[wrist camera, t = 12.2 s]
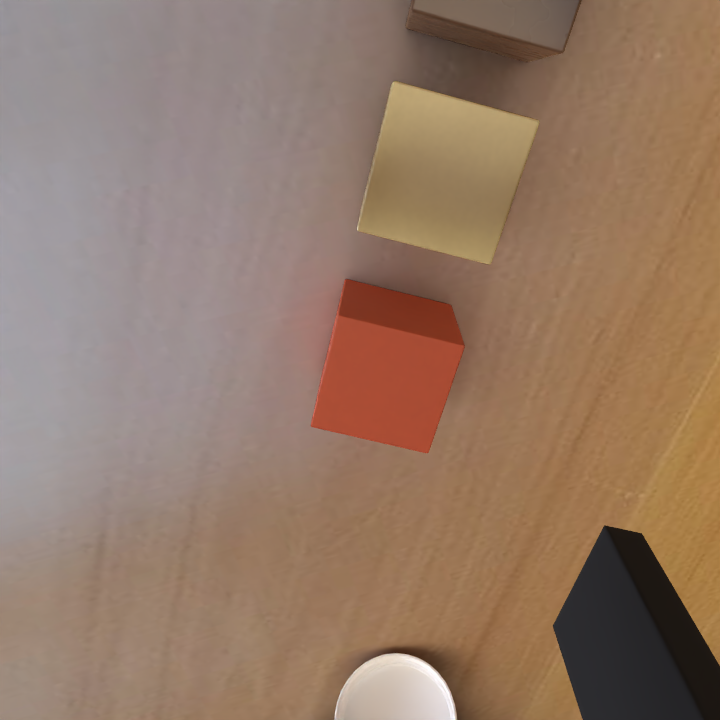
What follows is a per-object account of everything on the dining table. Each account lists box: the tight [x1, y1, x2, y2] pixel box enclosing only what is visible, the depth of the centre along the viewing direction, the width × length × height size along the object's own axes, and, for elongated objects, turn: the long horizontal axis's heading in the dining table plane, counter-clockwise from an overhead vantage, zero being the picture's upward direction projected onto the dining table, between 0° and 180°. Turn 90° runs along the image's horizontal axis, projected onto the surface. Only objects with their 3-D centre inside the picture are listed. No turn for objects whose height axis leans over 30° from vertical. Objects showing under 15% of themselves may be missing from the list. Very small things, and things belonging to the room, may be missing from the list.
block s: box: [311, 279, 465, 453], centre depth 26 cm, size 5×5×5 cm
